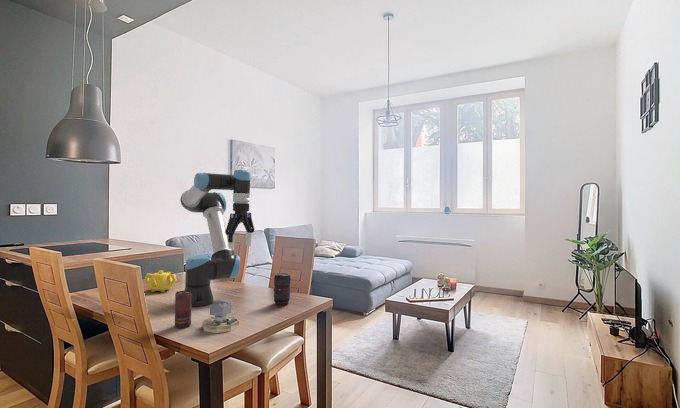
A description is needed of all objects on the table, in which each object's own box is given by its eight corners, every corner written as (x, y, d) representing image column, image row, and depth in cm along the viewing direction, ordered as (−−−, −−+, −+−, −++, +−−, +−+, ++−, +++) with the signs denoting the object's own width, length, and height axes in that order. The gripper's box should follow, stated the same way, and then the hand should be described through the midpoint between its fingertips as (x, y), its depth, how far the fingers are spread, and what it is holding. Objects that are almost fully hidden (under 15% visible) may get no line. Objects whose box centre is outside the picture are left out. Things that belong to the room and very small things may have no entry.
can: (177, 323, 150) (177, 289, 150) (192, 323, 150) (193, 289, 150) (171, 328, 144) (172, 293, 143) (188, 328, 144) (188, 293, 144)
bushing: (209, 327, 145) (209, 304, 145) (218, 322, 151) (219, 301, 151) (222, 329, 143) (222, 306, 143) (231, 324, 149) (231, 302, 149)
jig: (195, 330, 143) (196, 322, 143) (216, 319, 156) (216, 312, 156) (225, 334, 139) (225, 326, 139) (244, 323, 152) (244, 315, 152)
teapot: (167, 295, 191) (168, 274, 191) (134, 294, 192) (134, 273, 191) (184, 286, 211) (184, 267, 211) (154, 286, 212) (154, 267, 211)
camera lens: (286, 307, 176) (287, 276, 176) (271, 305, 178) (271, 275, 178) (292, 302, 184) (292, 273, 184) (277, 301, 186) (277, 272, 186)
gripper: (231, 203, 157) (230, 251, 158) (262, 202, 181) (261, 245, 181) (217, 202, 160) (216, 250, 160) (249, 202, 183) (248, 243, 184)
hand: (240, 247), depth 171 cm, fingers open, 13 cm apart
